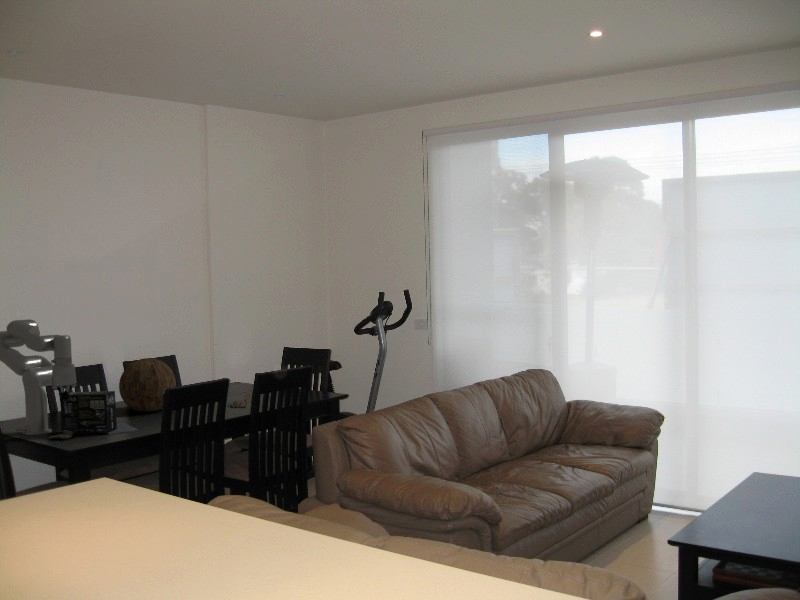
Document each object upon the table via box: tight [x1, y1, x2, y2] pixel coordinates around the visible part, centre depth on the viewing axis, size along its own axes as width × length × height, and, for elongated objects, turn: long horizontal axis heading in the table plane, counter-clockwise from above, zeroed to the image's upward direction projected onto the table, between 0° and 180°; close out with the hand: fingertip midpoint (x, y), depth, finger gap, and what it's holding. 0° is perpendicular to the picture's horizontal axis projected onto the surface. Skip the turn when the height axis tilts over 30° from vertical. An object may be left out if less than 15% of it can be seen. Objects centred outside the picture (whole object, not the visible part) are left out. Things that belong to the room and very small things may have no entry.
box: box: [59, 390, 118, 435], centre depth 377 cm, size 23×10×19 cm, turn 84°
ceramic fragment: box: [48, 431, 74, 439], centre depth 366 cm, size 11×3×10 cm
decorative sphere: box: [118, 357, 177, 413], centre depth 434 cm, size 30×30×30 cm
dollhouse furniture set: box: [227, 388, 254, 408], centre depth 444 cm, size 13×13×11 cm
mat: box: [105, 422, 140, 436], centre depth 384 cm, size 14×25×1 cm, turn 35°
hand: (64, 400), depth 370 cm, fingers closed
